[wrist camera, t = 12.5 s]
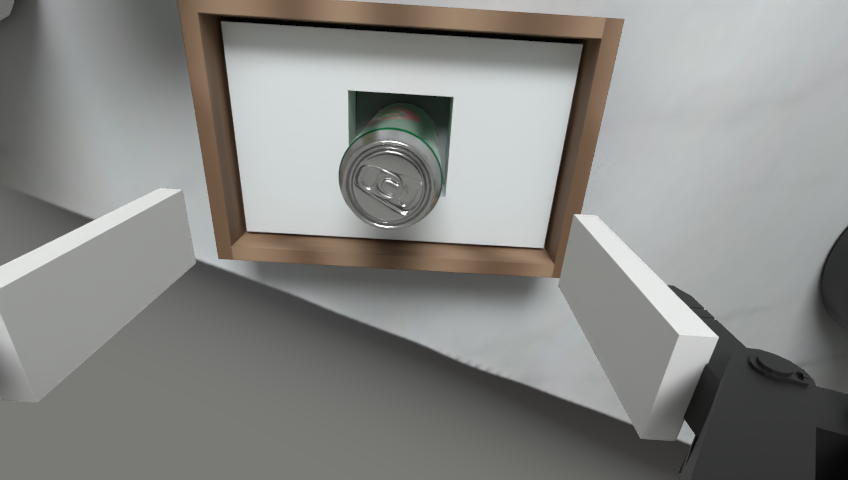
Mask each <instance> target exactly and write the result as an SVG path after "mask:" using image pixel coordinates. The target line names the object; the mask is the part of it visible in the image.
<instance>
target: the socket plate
mask: <svg viewBox="0 0 848 480" xmlns="http://www.w3.org/2000/svg"><path fill="white" fill-rule="evenodd" d="M221 28H222V36H223V44H224V52H225V60H226V68H227V76H228V84H229V92H230V100H231V108H232V116H233V124H234V132H235V140H236V148H237V156H238V164H239V172H240V180H241V188H242V196H243V204H244V212H245V220H246V228H247V231H253V232H271V233H288V234H306V235H323V236H340V237H358V238H375V239H393V240H410V241H427V242H445V243H462V244H480V245H497V246H514V247H532V248H544V243H545V238H546V233H547V228H548V223H549V217H550V212H551V207H552V202H553V197H554V192H555V187H556V181H557V176H558V171H559V166H560V161H561V156H562V150H563V145H564V140H565V135H566V130H567V125H568V119H569V114H570V109H571V104H572V99H573V94H574V89H575V83H576V78H577V73H578V68H579V63H580V58H581V52H582V47H583V45H582V44H567V43H551V42H536V41H520V40H504V39H489V38H473V37H458V36H442V35H427V34H411V33H396V32H380V31H365V30H349V29H334V28H318V27H303V26H287V25H272V24H256V23H241V22H225V21H221ZM356 91H367V92H383V93H399V94H415V95H431V96H447V97H451V103H450V116H449V128H448V141H447V153H446V165H445V178H444V185H442V190H441V195H440V197H439V200H438V202H437V204H436V205H435V207H434V208H433V210H432V211H431V212H430V213H429V214H428V215H427V216H426V217H425V218H423V219H422V220H420V221H419V222H417V223H415V224H413V225H411V226H408V227H405V228H401V229H395V230H384V229H379V228H376V227H373V226H370V225H368V224H367V223H365V222H363V221H362V220H361V219H359V218H358V217H357V216H356V215H355V214H354V213H353V212H352V210H351V209H350V208H349V206H348V205H347V204H346V202H345V200H344V198H343V196H342V193H341V190H340V186H339V175H338V174H339V166H340V163H341V159H342V157H343V155H344V153H345V151H346V150H347V148H348V147H349V146H350V144H351V143H352V142H353V141H354V139H355V138H356Z"/></svg>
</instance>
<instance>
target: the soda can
mask: <svg viewBox="0 0 848 480" xmlns="http://www.w3.org/2000/svg"><path fill="white" fill-rule="evenodd" d="M338 175H339V186H340V190H341V193H342V196H343V198H344V200H345V202H346V204H347V205H348V206H349V208H350V209H351V210H352V212H353V213H354V214H355V215H356V216H357V217H358V218H359V219H361V220H362V221H363V222H365V223H367V224H368V225H370V226H373V227H376V228H379V229H384V230H395V229H401V228H405V227H408V226H411V225H413V224H415V223H417V222H419V221H420V220H422V219H423V218H425V217H426V216H427V215H428V214H429V213H430V212H431V211H432V210H433V208H434V207H435V205H436V204H437V202H438V200H439V197H440V195H441V190H442V184H443V176H442V166H441V158H440V149H439V141H438V133H437V129H436V126H435V124H434V122H433V120H432V119H431V117H430V116H429V115H428V114H427V113H426V112H425V111H424V110H423V109H421V108H419V107H418V106H415V105H413V104H409V103H394V104H390V105H388V106H386V107H384V108H382V109H381V110H379V111H378V112H377V113H376V114H375V115H374V117H373V118H372V119H371V120H370V121H369V123H368V124H367V125H366V126H365V127H364V129H363V130H362V131H361V132H360V133H359V135H358V136H357V137H356V138H355V139H354V141H353V142H352V143H351V144H350V146H349V147H348V148H347V150H346V151H345V153H344V155H343V157H342V159H341V163H340V166H339V174H338Z"/></svg>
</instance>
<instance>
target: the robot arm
mask: <svg viewBox="0 0 848 480" xmlns="http://www.w3.org/2000/svg"><path fill="white" fill-rule="evenodd" d="M195 263H196V261H195V256H194V250H193V245H192V239H191V234H190V228H189V223H188V217H187V212H186V206H185V201H184V195H183V190H180V189H164V188H159V189H157V190H155V191H153V192H151V193H149V194H147V195H145V196H143V197H141V198H139V199H137V200H135V201H133V202H131V203H129V204H126V205H124V206H122V207H120V208H118V209H116V210H114V211H112V212H110V213H108V214H106V215H104V216H102V217H100V218H98V219H96V220H94V221H92V222H90V223H88V224H86V225H84V226H82V227H80V228H78V229H76V230H74V231H72V232H69V233H67V234H66V235H63V236H62V237H59V238H57V239H55V240H53V241H51V242H49V243H47V244H45V245H43V246H41V247H39V248H37V249H35V250H33V251H31V252H29V253H27V254H25V255H23V256H21V257H18V258H16V259H14V260H12V261H10V262H8V263H6V264H4V265H2V266H0V397H1V399H2V400H6V401H21V402H39V401H40V400H41V399H42V398H43V397H44V396H45V395H46V394H47V393H49V392H50V391H51V390H52V389H53V388H54V387H55V386H57V385H58V384H59V383H60V382H61V381H62V380H63V379H65V378H66V377H67V376H68V375H69V374H70V373H71V372H73V371H74V370H75V369H76V368H77V367H78V366H79V365H80V364H82V363H83V362H84V361H85V360H86V359H87V358H89V356H91V355H92V354H93V353H94V352H95V351H96V350H97V349H98V348H100V347H101V346H102V345H103V344H104V343H105V342H107V341H108V340H109V339H110V338H111V337H112V336H114V335H115V334H116V333H117V332H118V331H119V330H120V329H121V328H123V327H124V326H125V325H126V324H127V323H128V322H129V321H130V320H132V319H133V318H134V317H135V316H136V315H137V314H139V312H141V311H142V310H143V309H144V308H145V307H146V306H148V305H149V304H150V303H151V302H152V301H153V300H154V299H156V298H157V297H158V296H159V295H160V294H161V293H162V292H164V291H165V290H166V289H167V288H168V287H169V286H170V285H171V284H173V283H174V282H175V281H176V280H177V279H178V278H179V277H181V276H182V275H183V274H184V273H185V272H186V271H187V270H188V269H190V268H191V267H192V266H193V265H194V264H195ZM558 286H559V288H560V289H561V291H562V293H563V295H564V297H565V299H566V301H567V302H568V304H569V306H570V308H571V310H572V312H573V314H574V316H575V317H576V319H577V321H578V323H579V325H580V327H581V329H582V330H583V332H584V334H585V336H586V338H587V340H588V342H589V343H590V345H591V347H592V349H593V351H594V353H595V355H596V356H597V358H598V360H599V362H600V364H601V366H602V368H603V369H604V371H605V373H606V375H607V377H608V379H609V381H610V382H611V384H612V386H613V388H614V390H615V392H616V394H617V396H618V397H619V399H620V401H621V403H622V405H623V407H624V409H625V410H626V412H627V414H628V416H629V418H630V420H631V422H632V423H633V425H634V427H635V429H636V431H637V433H638V435H639V436H640V438H641V439H654V440H671V441H676V439H677V437H678V434H679V432H680V429H681V427H682V425H683V422H684V420H685V421H686V422H687V423H688V425H689V426H690V428H691V429H692V431H693V432H694V434H695V437H694V440H693V442H692V444H691V447H690V449H689V451H688V453H687V456H686V458H685V460H684V463H683V465H682V467H681V469H680V471H679V473H681V475H680V477H679V480H848V394H844V393H840V392H836V391H832V390H828V389H824V388H820V387H816V385H815V382H814V380H813V379H812V378H811V377H810V376H809V375H808V374H807V373H806V372H805V371H804V370H803V369H801V368H800V367H798V366H797V365H795V364H794V363H792V362H791V361H789V360H786V359H784V358H782V357H780V356H778V355H775V354H772V353H769V352H766V351H763V350H759V349H751V348H746V347H745V346H744V345H743V344H742V343H741V342H740V341H739V340H737V339H736V338H735V337H734V336H733V335H732V334H731V333H730V332H729V331H728V330H727V329H726V328H725V327H724V326H723V325H722V324H720V323H719V322H718V321H717V320H714V317H713V316H712V315H711V314H710V313H709V312H708V311H707V310H704V308H703V307H702V306H701V305H700V304H699V303H698V302H697V301H696V300H695V299H694V298H693V297H692V296H690V295H689V294H687V293H685V292H683V291H682V290H680V289H678V288H676V287H675V286H671V285H666V284H665V283H664V282H663V281H662V280H661V279H660V278H659V277H658V276H657V275H656V274H655V273H654V272H653V271H652V270H651V269H650V268H649V267H648V266H647V265H646V264H645V263H644V262H643V261H642V260H641V259H640V258H639V257H638V256H637V255H636V254H635V253H634V252H633V251H632V250H631V249H630V248H629V247H628V246H627V245H626V244H625V243H624V242H623V241H622V240H621V239H620V238H619V237H618V236H617V235H616V234H615V233H614V232H613V231H612V230H611V229H610V228H609V227H608V226H607V225H606V224H605V223H604V222H603V221H602V220H601V219H600V218H599V217H598V216H596V215H581V214H574V215H573V220H572V224H571V229H570V234H569V238H568V243H567V248H566V252H565V257H564V261H563V266H562V271H561V275H560V280H559V285H558ZM822 297H823V301H824V305H825V307H826V309H827V311H828V312H829V314H830V315H831V317H832V318H833V319H834V320H835V321H836V322H837V323H839V324H840V325H841V326H843V327H844V328H846V329H847V330H848V229H847V230H846V231H845V232H844V234H843V235H842V236H841V238H840V239H839V241H838V242H837V244H836V245H835V247H834V249H833V250H832V252H831V254H830V256H829V258H828V261H827V263H826V266H825V269H824V273H823V278H822Z"/></svg>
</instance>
